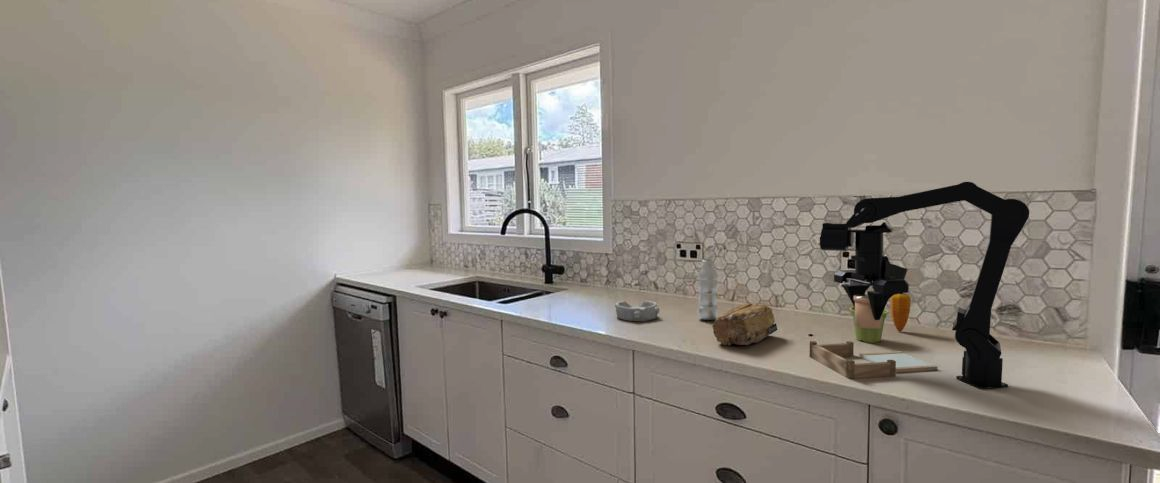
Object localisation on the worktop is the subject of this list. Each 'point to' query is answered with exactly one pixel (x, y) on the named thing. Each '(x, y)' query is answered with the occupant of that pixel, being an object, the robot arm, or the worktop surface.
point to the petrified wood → (744, 324)
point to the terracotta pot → (865, 313)
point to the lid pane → (899, 361)
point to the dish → (637, 311)
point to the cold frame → (849, 361)
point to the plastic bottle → (707, 291)
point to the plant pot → (869, 330)
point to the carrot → (900, 310)
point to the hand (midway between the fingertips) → (868, 317)
